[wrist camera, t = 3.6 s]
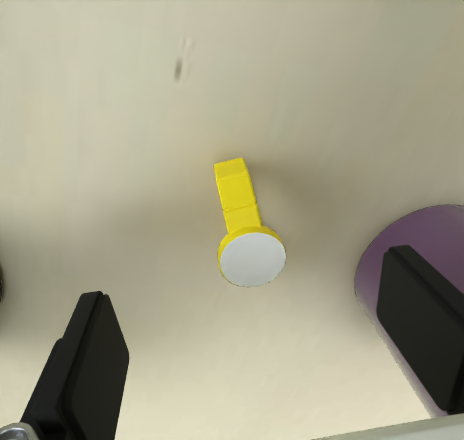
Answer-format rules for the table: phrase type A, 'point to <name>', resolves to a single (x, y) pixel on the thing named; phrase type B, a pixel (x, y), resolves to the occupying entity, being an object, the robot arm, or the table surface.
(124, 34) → the table surface
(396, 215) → the table surface
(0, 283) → the pen holder
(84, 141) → the table surface
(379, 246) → the jar
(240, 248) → the watch
